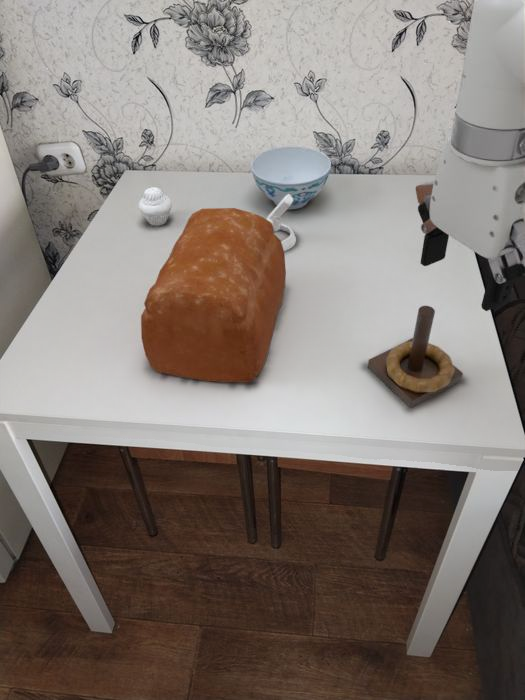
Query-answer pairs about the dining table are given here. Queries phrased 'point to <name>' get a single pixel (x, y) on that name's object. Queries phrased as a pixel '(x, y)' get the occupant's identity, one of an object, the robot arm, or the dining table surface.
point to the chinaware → (291, 173)
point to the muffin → (155, 206)
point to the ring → (415, 383)
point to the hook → (277, 226)
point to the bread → (216, 298)
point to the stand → (414, 362)
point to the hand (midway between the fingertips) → (461, 282)
